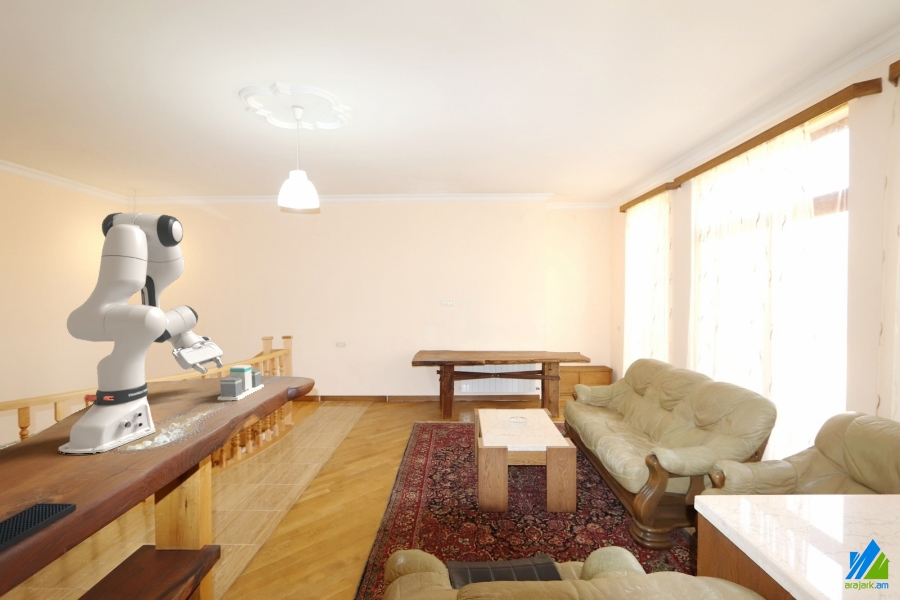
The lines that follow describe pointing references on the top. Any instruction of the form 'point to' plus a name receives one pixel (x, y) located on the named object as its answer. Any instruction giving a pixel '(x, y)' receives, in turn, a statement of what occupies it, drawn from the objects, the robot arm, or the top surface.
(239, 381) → the rail mount
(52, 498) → the top surface
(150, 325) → the robot arm
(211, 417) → the top surface
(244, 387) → the block
